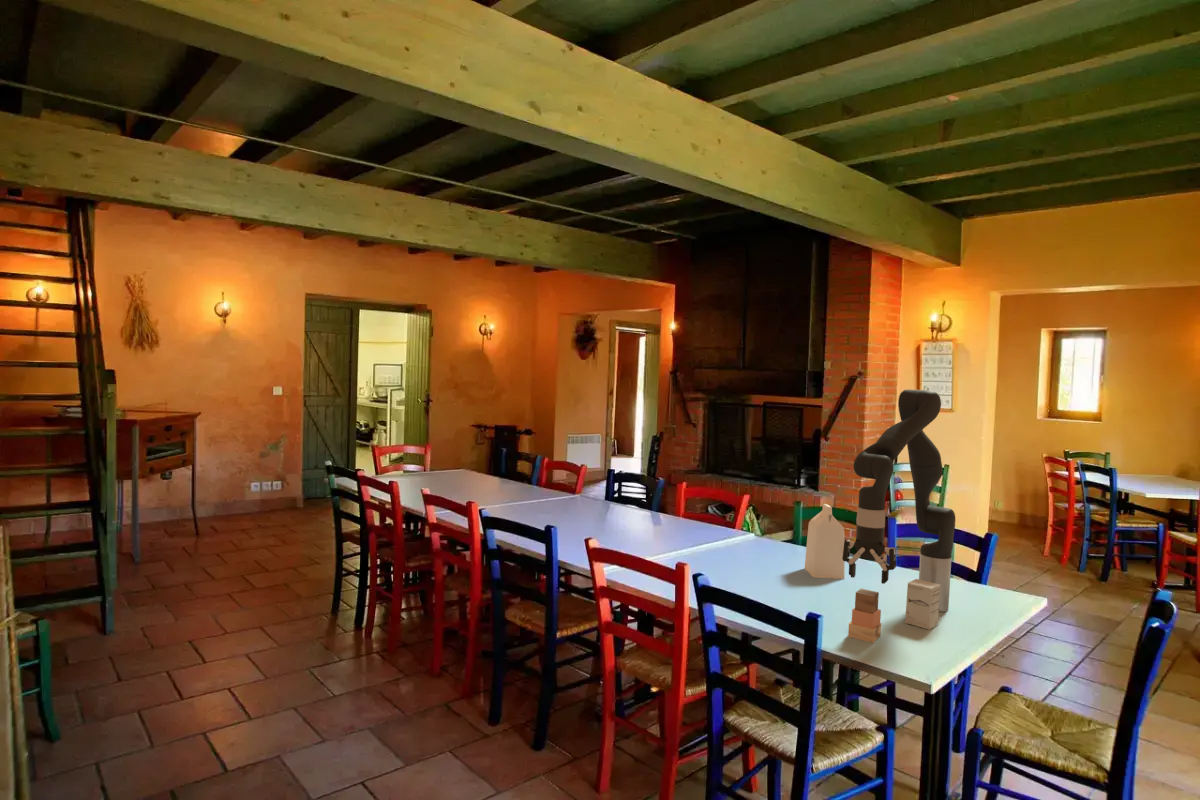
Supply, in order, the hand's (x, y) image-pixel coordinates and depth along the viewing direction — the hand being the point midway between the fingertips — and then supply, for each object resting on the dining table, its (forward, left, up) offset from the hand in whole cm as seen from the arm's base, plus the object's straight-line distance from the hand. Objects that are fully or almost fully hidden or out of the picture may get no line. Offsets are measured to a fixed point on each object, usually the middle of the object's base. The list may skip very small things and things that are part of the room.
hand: (868, 579), depth 199 cm
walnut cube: (0, 0, -9) cm, 9 cm away
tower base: (0, 0, -17) cm, 17 cm away
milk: (-57, -32, -17) cm, 67 cm away
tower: (0, 0, -13) cm, 13 cm away
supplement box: (-23, +10, -17) cm, 30 cm away
